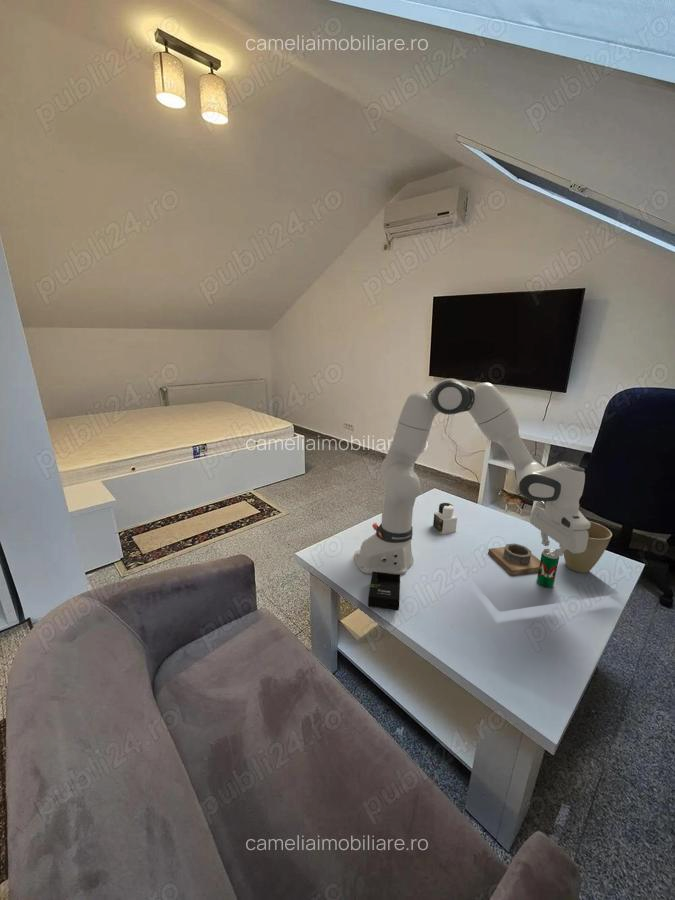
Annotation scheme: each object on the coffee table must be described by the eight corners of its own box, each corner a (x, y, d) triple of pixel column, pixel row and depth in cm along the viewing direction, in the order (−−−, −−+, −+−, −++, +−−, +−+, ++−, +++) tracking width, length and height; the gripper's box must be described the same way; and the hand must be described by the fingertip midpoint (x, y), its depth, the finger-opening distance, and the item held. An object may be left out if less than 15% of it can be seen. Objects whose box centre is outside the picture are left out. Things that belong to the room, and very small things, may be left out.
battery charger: (398, 611, 110) (399, 600, 109) (367, 607, 112) (368, 596, 111) (399, 584, 122) (400, 574, 121) (371, 580, 124) (372, 570, 123)
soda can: (553, 581, 123) (559, 550, 120) (553, 589, 119) (560, 557, 116) (536, 577, 126) (542, 546, 123) (536, 585, 121) (542, 553, 118)
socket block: (511, 575, 127) (513, 563, 125) (488, 553, 140) (489, 541, 138) (546, 570, 129) (548, 558, 128) (520, 549, 142) (522, 538, 141)
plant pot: (601, 563, 134) (610, 525, 129) (602, 585, 122) (613, 544, 117) (555, 550, 141) (562, 514, 137) (552, 570, 130) (560, 530, 125)
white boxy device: (432, 527, 159) (434, 502, 156) (446, 524, 161) (449, 500, 158) (441, 534, 153) (444, 509, 149) (456, 532, 155) (458, 507, 151)
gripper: (529, 498, 124) (522, 534, 128) (577, 528, 105) (567, 568, 109) (545, 497, 125) (537, 533, 129) (595, 526, 106) (585, 567, 110)
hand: (551, 549), depth 119 cm, fingers open, 5 cm apart
